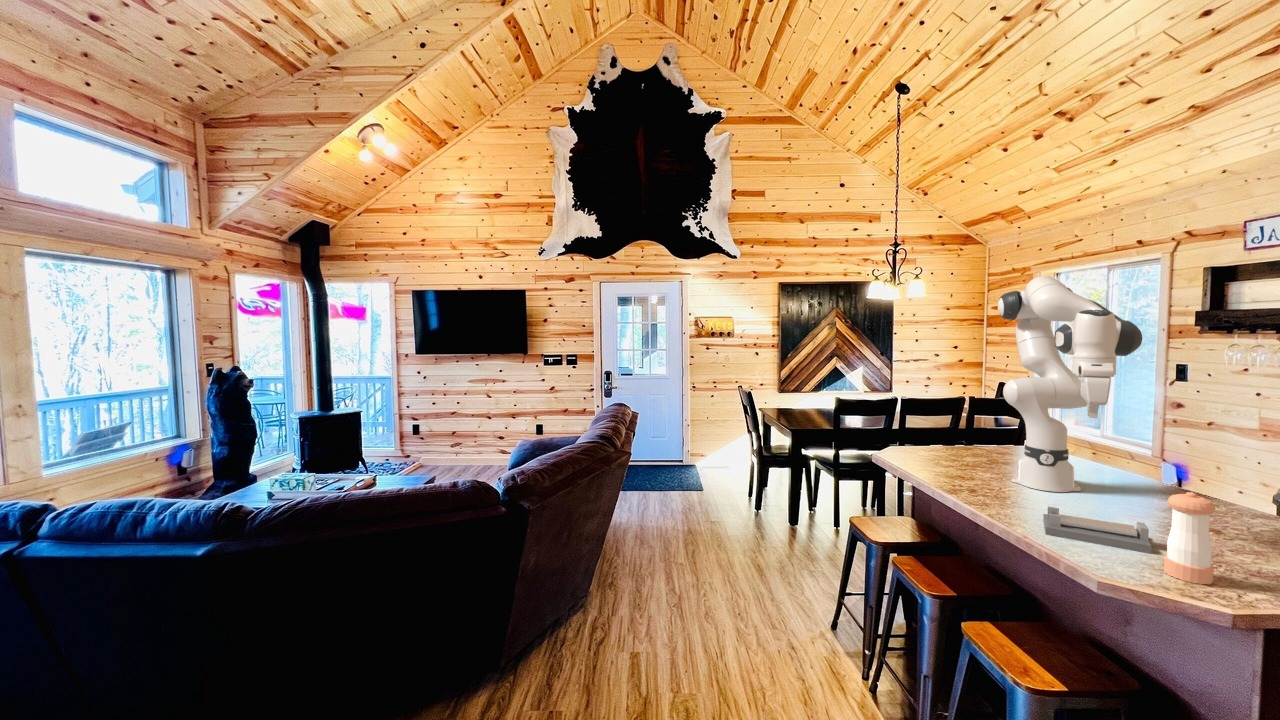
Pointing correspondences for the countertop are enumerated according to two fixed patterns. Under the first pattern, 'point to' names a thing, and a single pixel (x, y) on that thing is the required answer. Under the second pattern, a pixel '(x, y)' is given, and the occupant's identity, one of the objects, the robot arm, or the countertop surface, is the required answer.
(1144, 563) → the countertop surface
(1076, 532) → the clamp board
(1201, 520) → the pepper shaker
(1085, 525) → the clamp lever
